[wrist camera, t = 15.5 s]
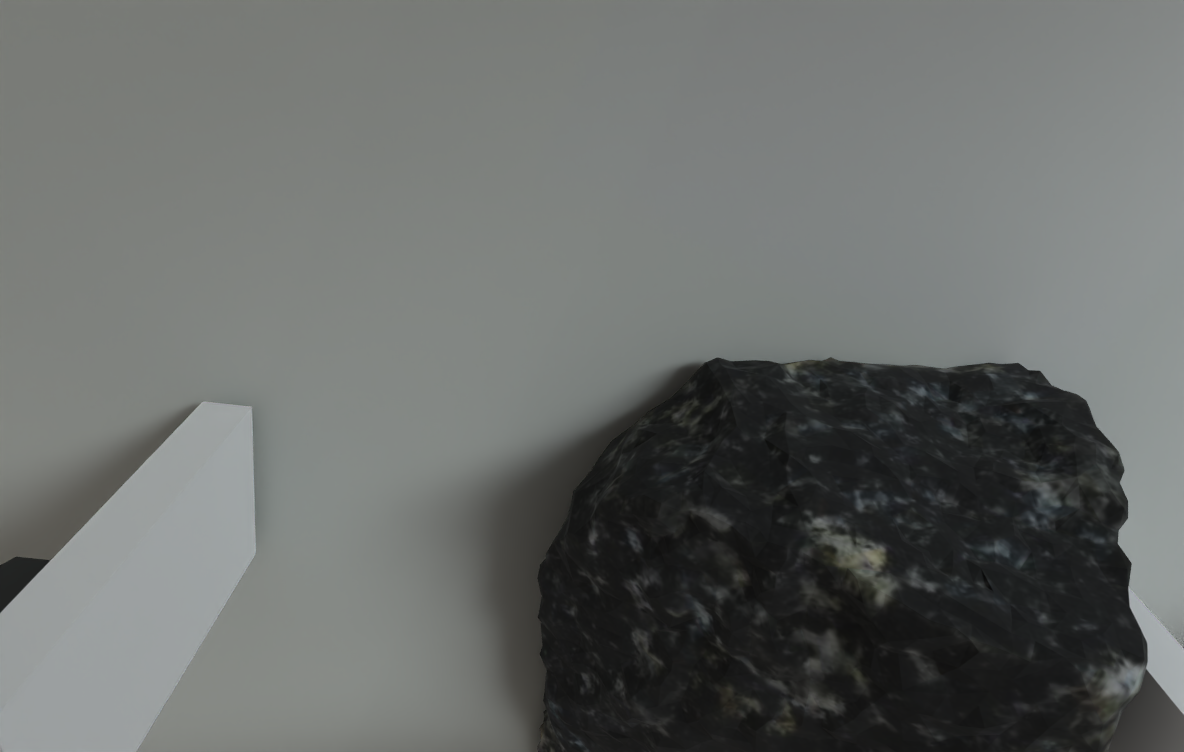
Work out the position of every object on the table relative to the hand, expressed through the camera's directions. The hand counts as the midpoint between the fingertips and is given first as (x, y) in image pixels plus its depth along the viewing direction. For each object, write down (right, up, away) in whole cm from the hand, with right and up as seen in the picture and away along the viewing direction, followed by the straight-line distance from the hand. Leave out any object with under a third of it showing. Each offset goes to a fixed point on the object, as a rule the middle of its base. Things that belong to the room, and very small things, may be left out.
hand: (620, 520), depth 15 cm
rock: (+3, -1, +1) cm, 3 cm away
